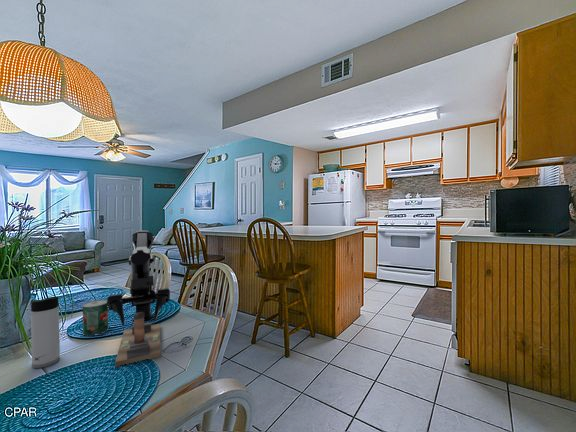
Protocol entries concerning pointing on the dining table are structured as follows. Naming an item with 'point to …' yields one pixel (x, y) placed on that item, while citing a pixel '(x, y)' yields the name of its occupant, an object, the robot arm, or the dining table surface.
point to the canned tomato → (95, 317)
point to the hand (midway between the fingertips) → (139, 322)
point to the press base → (141, 352)
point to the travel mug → (45, 332)
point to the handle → (139, 331)
